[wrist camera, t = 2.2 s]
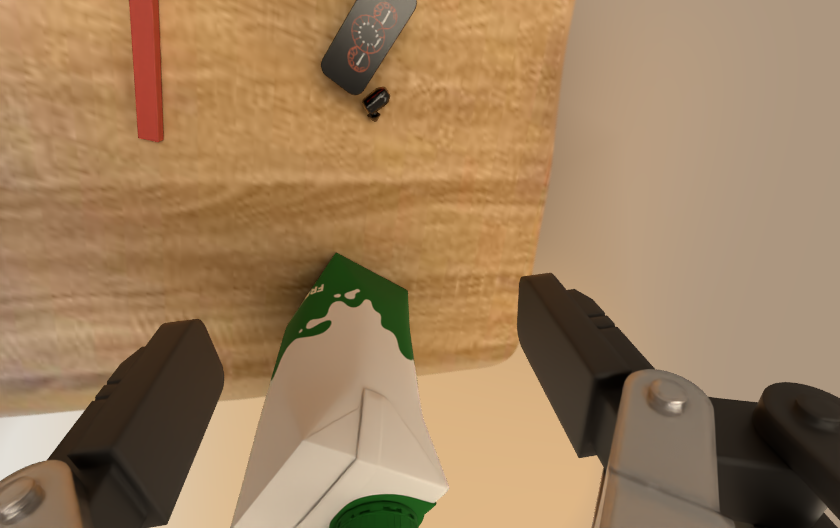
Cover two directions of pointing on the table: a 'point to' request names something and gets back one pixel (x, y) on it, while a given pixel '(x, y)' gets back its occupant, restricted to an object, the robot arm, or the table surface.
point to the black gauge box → (366, 47)
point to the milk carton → (343, 415)
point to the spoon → (147, 68)
